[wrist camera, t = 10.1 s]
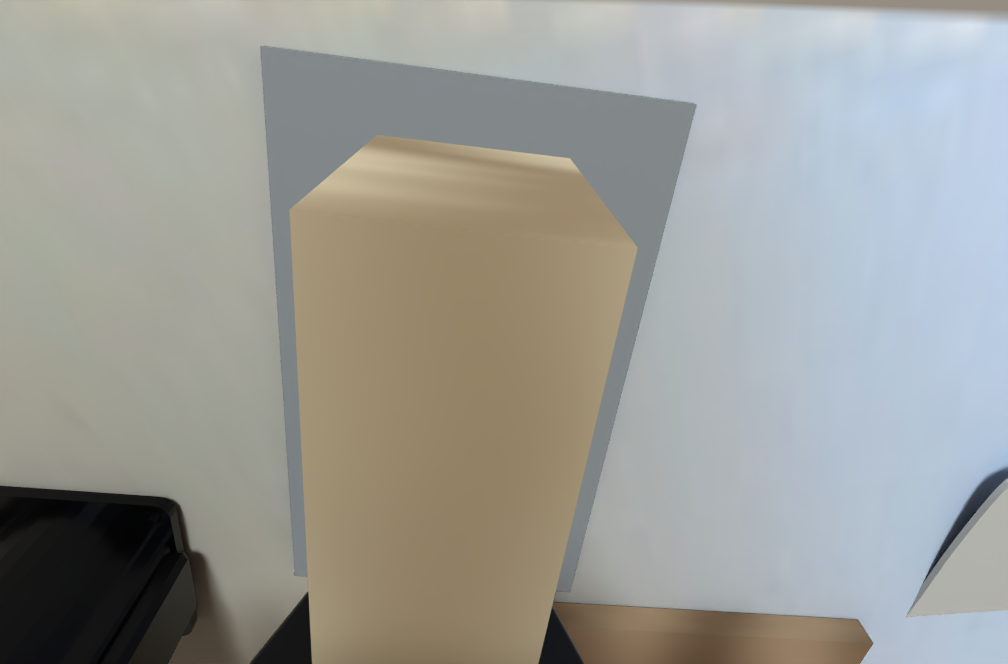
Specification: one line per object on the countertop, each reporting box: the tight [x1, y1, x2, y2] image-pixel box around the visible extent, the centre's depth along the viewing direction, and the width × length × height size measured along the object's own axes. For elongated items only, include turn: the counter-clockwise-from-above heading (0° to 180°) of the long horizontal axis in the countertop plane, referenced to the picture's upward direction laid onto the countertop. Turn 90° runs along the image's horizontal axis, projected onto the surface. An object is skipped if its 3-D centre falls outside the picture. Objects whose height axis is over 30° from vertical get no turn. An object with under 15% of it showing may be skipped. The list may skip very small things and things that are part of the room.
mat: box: [260, 46, 697, 592], centre depth 17 cm, size 10×17×1 cm, turn 173°
